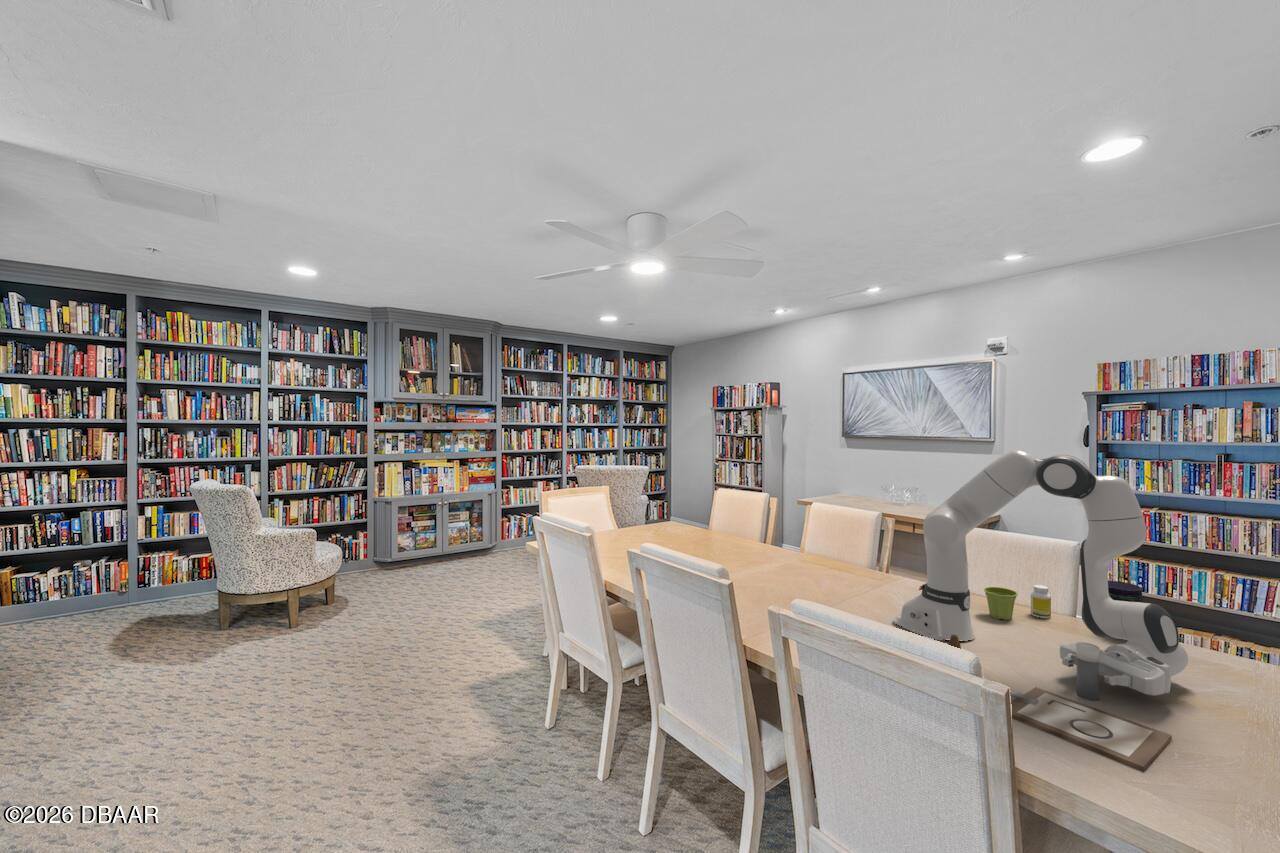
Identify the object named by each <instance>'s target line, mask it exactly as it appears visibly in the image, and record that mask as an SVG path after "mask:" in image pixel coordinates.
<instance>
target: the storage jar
mask: <svg viewBox="0 0 1280 853" xmlns="http://www.w3.org/2000/svg"><path fill="white" fill-rule="evenodd" d="M1108 592H1109V596H1110V597H1111V598H1112V599H1113V600H1118V601H1128V602H1141V603H1144V602H1143V598H1144V597H1143V587H1141V586H1140V585H1138V584H1137V585H1136V584H1133V583H1129V582H1123V581H1117V580H1108ZM1123 641H1125V640H1124V639H1123Z"/></svg>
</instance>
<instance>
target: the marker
mask: <svg viewBox="0 0 1280 853" xmlns="http://www.w3.org/2000/svg"><path fill="white" fill-rule="evenodd" d="M1075 643H1076V657H1077V665H1076V695H1077V696H1078V697H1080V698H1082V699H1084V700H1089V701H1098V700H1100V699H1099V698H1100V696H1099V694H1100V693H1099V691H1100V690H1099V688H1100V685H1099V684H1100V682H1099V681H1100V680H1099V679H1100V675H1099V649H1100V647H1099V646H1097V645H1095V644H1093V643H1090V642H1089V643H1088V642H1085V641H1084V642H1082V641H1081V642H1080V641H1078V642H1075Z"/></svg>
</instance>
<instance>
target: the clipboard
mask: <svg viewBox="0 0 1280 853" xmlns="http://www.w3.org/2000/svg"><path fill="white" fill-rule="evenodd" d="M1010 693H1011V698H1013V699H1015V700H1013V701H1012V702H1011V703H1012V717H1011V718H1012V719H1015V720H1017V721H1019V722H1021V723H1025V724H1027V725H1030V726H1032V727H1034V728H1036V729H1039V730H1041V731H1043V732H1046V733H1049V734H1052V735H1054V736H1056V737H1059V738H1061V739H1064V740H1067V741H1069V742H1071V743H1073V744H1075V745H1079V746H1081V747H1083V748H1086V749H1088V750H1091V751H1093V752H1095V753H1098V754H1101V755H1103V756H1105V757H1108V758H1110V759H1113V760H1115V761H1117V762H1120V763H1122V764H1125V765H1127V766H1130V767H1132V768H1134V769H1137V770H1139V771H1143V772H1144V771H1145V770H1146V769H1147V768H1148V767H1149V766H1150V765H1151V764H1152V763H1153V761H1154V760H1155V759H1156V758H1157V757H1158V756H1159V755H1160V754H1161V752H1162V751H1163V750H1164V749H1165V748H1166V746H1167V745H1168V744H1169V742H1171V741H1170V740H1172V739H1173V738H1172V737H1173V735H1172V734H1169V733H1167V732H1165V731H1161V730H1158V729H1155V728H1153V727H1150V726H1146V725H1144V724H1141V723H1139V722H1135V721H1132V720H1129V719H1127V718H1124V717H1121V716H1118V715H1116V714H1113V713H1109V712H1107V711H1105V710H1102V709H1099V708H1096V707H1093V706H1090V705H1087V704H1085V703H1081V702H1080V701H1076V700H1073V699H1070V698H1068V697H1066V696H1065V697H1064V696H1063V695H1059V694H1056V693H1054V692H1051V691H1049V690H1046V689H1043V688H1040V687H1037V686H1035V687H1034V688H1032V689H1031V690H1029V691H1028V692H1026V693H1021V692H1019V691H1016V690H1012V691H1011V692H1010ZM1162 749H1163V750H1162Z"/></svg>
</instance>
